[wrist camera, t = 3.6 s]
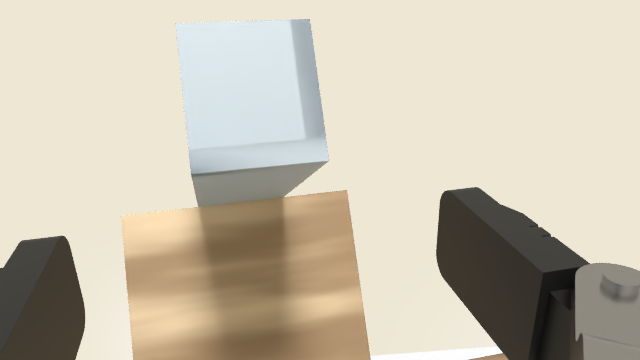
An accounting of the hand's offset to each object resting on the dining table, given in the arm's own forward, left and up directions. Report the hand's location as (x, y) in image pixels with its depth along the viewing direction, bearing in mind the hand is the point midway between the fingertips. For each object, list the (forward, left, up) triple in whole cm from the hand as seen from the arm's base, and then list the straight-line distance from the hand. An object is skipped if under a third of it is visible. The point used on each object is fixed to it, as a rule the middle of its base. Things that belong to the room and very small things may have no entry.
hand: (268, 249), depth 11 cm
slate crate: (-3, +18, +3) cm, 18 cm away
